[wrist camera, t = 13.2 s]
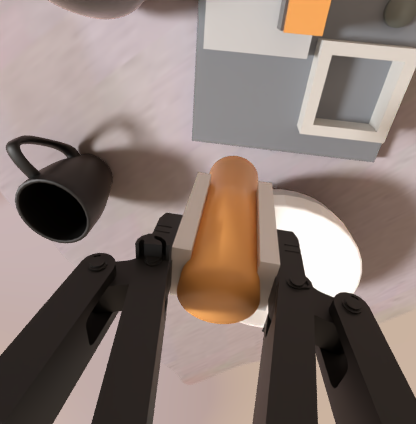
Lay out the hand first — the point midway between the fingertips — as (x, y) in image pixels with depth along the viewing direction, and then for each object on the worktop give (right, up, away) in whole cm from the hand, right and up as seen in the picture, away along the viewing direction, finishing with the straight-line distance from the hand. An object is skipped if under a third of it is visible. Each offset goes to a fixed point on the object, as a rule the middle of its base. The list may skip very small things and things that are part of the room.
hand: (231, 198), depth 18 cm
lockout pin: (0, +1, +2) cm, 3 cm away
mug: (-17, +6, +22) cm, 28 cm away
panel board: (+8, +15, +12) cm, 20 cm away
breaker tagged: (+6, +15, +7) cm, 17 cm away
